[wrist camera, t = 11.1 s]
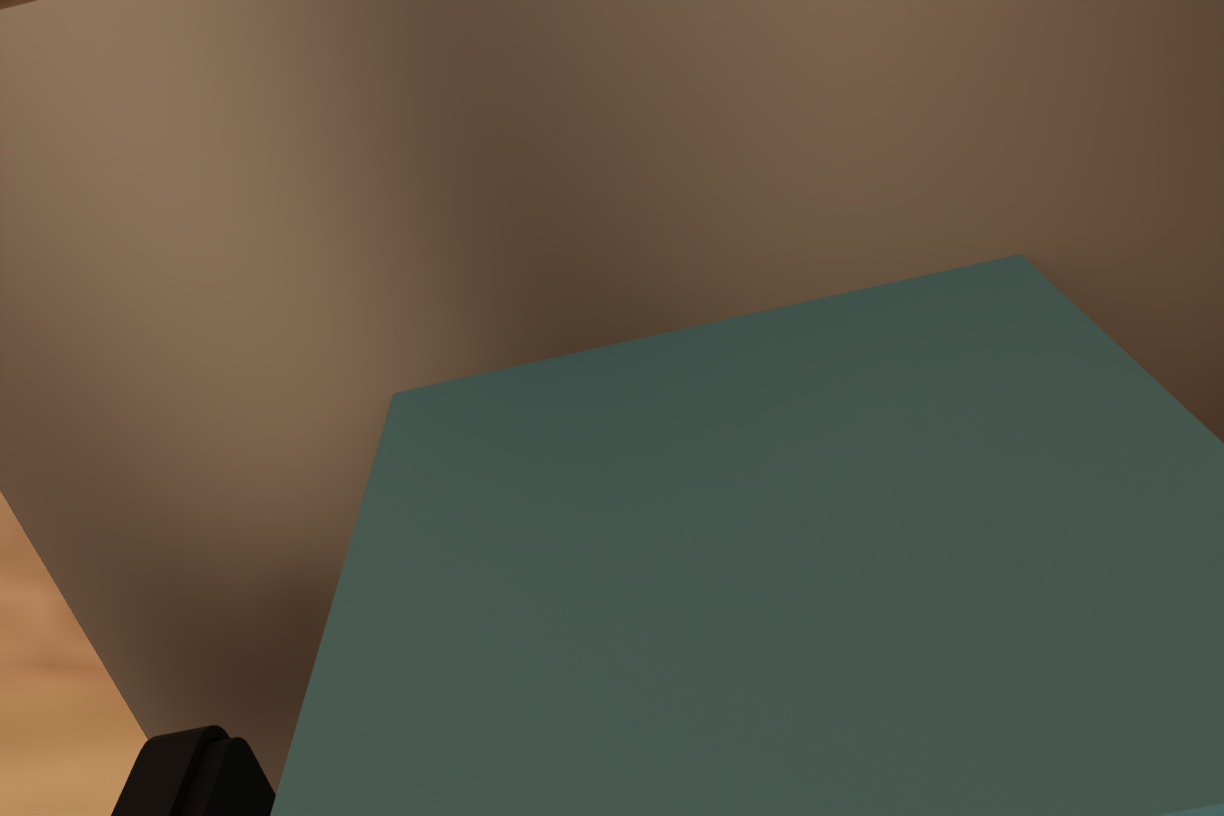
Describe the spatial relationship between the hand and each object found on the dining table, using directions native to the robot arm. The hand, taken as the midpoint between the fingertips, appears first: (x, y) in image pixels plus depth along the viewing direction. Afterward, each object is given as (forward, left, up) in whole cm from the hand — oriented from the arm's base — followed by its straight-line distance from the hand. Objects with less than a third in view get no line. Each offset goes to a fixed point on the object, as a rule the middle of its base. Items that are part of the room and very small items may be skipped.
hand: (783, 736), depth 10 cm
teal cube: (0, 0, -2) cm, 2 cm away
